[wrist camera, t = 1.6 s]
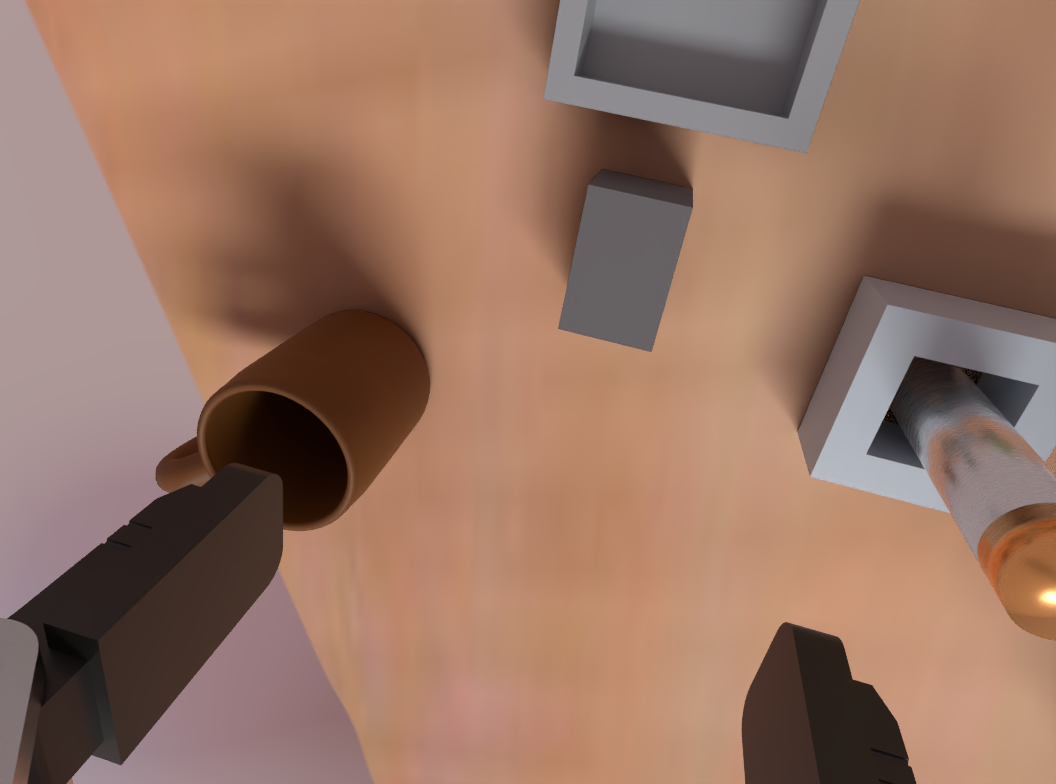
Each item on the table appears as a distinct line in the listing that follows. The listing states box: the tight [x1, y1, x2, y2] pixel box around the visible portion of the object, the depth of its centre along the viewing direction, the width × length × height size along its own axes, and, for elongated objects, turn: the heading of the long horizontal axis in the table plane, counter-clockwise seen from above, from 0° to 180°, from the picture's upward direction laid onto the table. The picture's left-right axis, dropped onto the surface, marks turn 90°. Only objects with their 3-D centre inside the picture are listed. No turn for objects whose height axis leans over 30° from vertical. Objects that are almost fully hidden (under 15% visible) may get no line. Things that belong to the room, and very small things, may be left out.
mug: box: [156, 311, 430, 531], centre depth 33 cm, size 12×8×9 cm, turn 110°
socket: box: [798, 276, 1056, 513], centre depth 28 cm, size 8×8×4 cm
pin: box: [889, 356, 1056, 640], centre depth 24 cm, size 3×3×14 cm
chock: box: [558, 169, 693, 352], centre depth 29 cm, size 4×6×4 cm
